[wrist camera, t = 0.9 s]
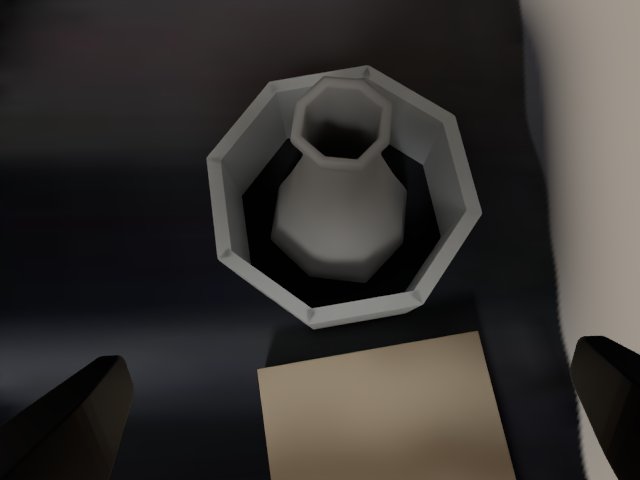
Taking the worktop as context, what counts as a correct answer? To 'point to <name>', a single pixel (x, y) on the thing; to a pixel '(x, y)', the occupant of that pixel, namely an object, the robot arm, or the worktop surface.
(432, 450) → the oak board
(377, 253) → the flask
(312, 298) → the worktop surface
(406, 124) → the collar
